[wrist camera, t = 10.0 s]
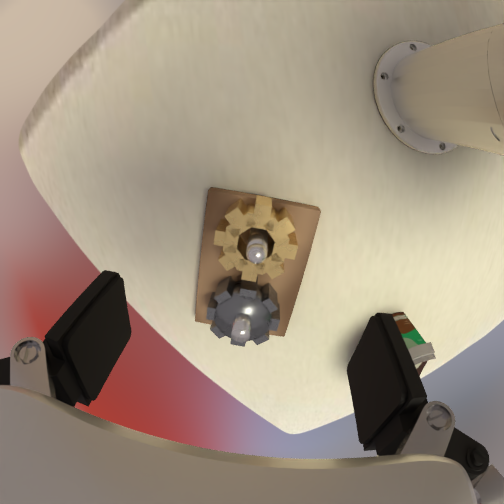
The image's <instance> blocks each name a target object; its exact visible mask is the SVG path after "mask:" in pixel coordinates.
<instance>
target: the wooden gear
mask: <svg viewBox="0 0 504 504" xmlns="http://www.w3.org/2000/svg"><path fill="white" fill-rule="evenodd" d="M225 218H226V219H227V220H225V219H221V220H220V222H219V224H218V226H217V228H216V230H215V238H214V245H218V246H223V248H222V250H221V253H220V256H219V258H218V261H219V262H220V263H221V264H222V265H223V267H224V268H225V269H226V270H227V271H228V270H230V269H232V268H233V267H236V269H237V270H239V271H243V272H242V277H241V279H242V280H247V281H253V282H256V279H257V274H261V275H263V274H265V273H266V272H267V274H268V275H269V276H270V278H271V279H274V278H275V277H277V276H279V275H281V274H282V273H284V272H285V271H284V259H285V258H287V259H293V260H295V256H296V253H297V249H298V243H297V238H296V234H295V233H293V231H294V230H296V229H295V225H294V221H293V218H292V216H291V215H290V213H289V212H288V210H287V209H286V207H284V208H282V209H280V210H279V211H276V209H275V208H273V207H272V198H269V197H264V196H259V195H257V198H256V203H255V204H252V203H250V204H248V205H247V206H246V204H245V203H244V202H243V200H242V199H239V200H238V201H236V202H235V203H233V204H232V205H230V206H229V208H228V210H227V212H226V214H225ZM251 227H254V228H259V229H264V230H267V231H268V233H269V234H270V235H271V237H272V242H270V243H268V246H267V257H266V259H265V261H263V262H262V263H260V264H254V263H251V262H250V261H249V260H248V259H247V256H246V249H247V244H246V243H245V241H244V240H243V239H242V237H241V236H240V234H241V233H243V232H245V231H246V230H248V229H249V228H251Z"/></svg>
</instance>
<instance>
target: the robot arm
mask: <svg viewBox="0 0 504 504" xmlns="http://www.w3.org/2000/svg"><path fill="white" fill-rule="evenodd" d="M410 48H411V49H410ZM381 75H382V76H383V79H382V78H381ZM374 94H375V100H376V103H377V106H378V109H379V112H380V114H381V116H382V118H383V120H384V122H385V123H386V125H387V126H388V128H389V129H390V131H391V132H392V133H393V134H394V135H395V136H396V137H397V138H398V139H399V140H400V141H402V142H403V143H404V144H405V145H407V146H408V147H410V148H412V149H414V150H417V151H420V152H423V153H428V154H442V153H446V152H449V151H451V150H452V149H454V148H456V147H457V146H458V145H462V146H467V147H471V148H475V149H480V150H484V151H488V152H492V153H496V154H499V155H503V156H504V23H503V24H500V25H496V26H492V27H489V28H485V29H482V30H478V31H475V32H472V33H468V34H465V35H462V36H459V37H456V38H453V39H450V40H447V41H445V42H442V43H439V44H436V45H434V46H432V45H429V44H427V43H423V42H419V41H406V42H402V43H398V44H396V45H395V46H393V47H391V48H390V49H388V50H387V51H386V52H385V53H384V54H383V55H382V57H381V58H380V59H379V62H378V64H377V66H376V69H375V74H374ZM397 127H399V130H397ZM130 336H131V327H130V321H129V315H128V309H127V302H126V295H125V288H124V281H123V278H121V277H120V275H119V273H116V272H112V271H107V270H104V271H103V272H102V273H101V274H100V275H99V276H98V277H97V278H96V279H95V280H94V281H93V282H92V283H91V284H90V285H89V287H87V289H86V290H85V291H84V292H83V293H82V294H81V295H80V296H79V297H78V298H77V299H76V301H75V302H74V303H73V304H72V305H71V306H70V307H69V308H68V309H67V311H66V312H65V313H64V314H63V315H62V317H60V319H59V320H58V321H57V322H56V323H55V324H54V326H53V327H52V328H51V329H50V330H49V331H48V333H47V334H46V335H45V340H44V341H43V342H42V341H41V340H39V339H38V338H34V337H27V338H24V339H21V340H20V341H18V342H17V343H16V344H15V345H14V346H13V348H12V350H11V354H10V357H8V358H4V359H0V504H504V478H503V476H502V475H501V474H500V473H499V472H498V470H497V469H496V468H495V467H494V466H493V465H490V466H488V465H489V455H488V452H487V450H486V449H485V447H484V446H483V445H481V444H480V443H478V442H477V441H475V440H473V439H472V438H470V437H469V436H467V435H465V434H464V433H462V432H461V431H459V430H458V429H456V428H455V427H454V426H455V416H454V414H453V412H452V410H451V409H450V408H449V407H448V406H447V405H446V404H444V403H442V402H439V401H432V402H429V403H428V401H427V399H426V398H427V395H426V392H425V389H424V387H423V384H422V382H421V379H420V377H419V374H418V372H417V369H416V367H415V364H414V362H413V360H412V357H411V355H410V353H409V350H408V348H407V346H406V344H405V341H404V339H403V337H402V335H401V332H400V330H399V328H398V326H397V324H396V322H395V320H394V318H393V316H392V314H387V313H376V314H375V316H372V317H371V318H370V320H369V322H368V324H367V326H366V329H365V331H364V333H363V335H362V337H361V339H360V341H359V343H358V346H357V348H356V350H355V352H354V354H353V356H352V358H351V360H350V362H349V364H348V367H347V375H348V380H349V385H350V390H351V395H352V401H353V407H354V412H355V418H356V424H357V431H358V437H359V442H360V443H361V444H363V447H364V451H367V450H376V452H377V456H376V457H364V458H344V459H291V458H274V457H262V456H253V455H244V454H236V453H229V452H223V451H217V450H211V449H205V448H200V447H196V446H191V445H187V444H182V443H177V442H174V441H170V440H166V439H162V438H158V437H155V436H151V435H148V434H145V433H141V432H138V431H135V430H132V429H129V428H126V427H123V426H120V425H117V424H115V423H112V422H109V421H106V420H104V419H101V418H98V417H96V416H94V415H91V414H89V413H86V412H84V411H81V410H79V409H77V408H75V407H74V406H75V404H76V402H79V403H82V404H84V405H86V406H89V404H90V403H91V401H92V400H93V401H94V400H95V399H96V398H97V396H98V395H99V393H100V391H101V389H102V387H103V385H104V383H105V382H106V380H107V378H108V376H109V374H110V372H111V371H112V369H113V367H114V365H115V363H116V362H117V360H118V358H119V356H120V355H121V353H122V351H123V349H124V348H125V346H126V344H127V342H128V341H129V339H130Z"/></svg>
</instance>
